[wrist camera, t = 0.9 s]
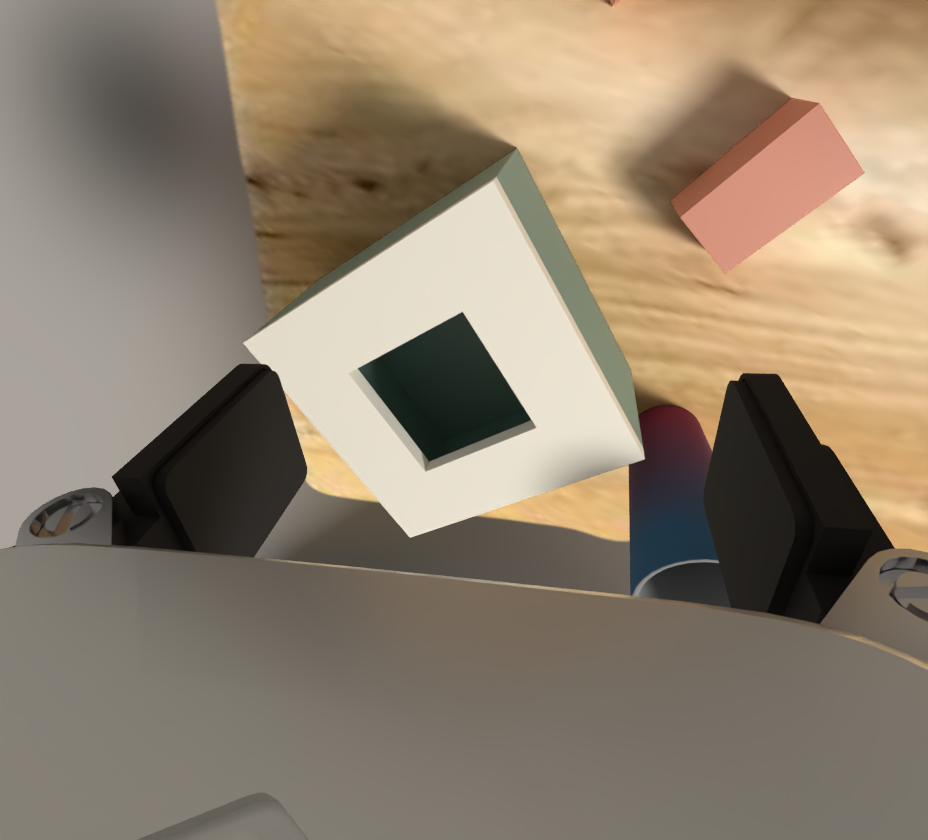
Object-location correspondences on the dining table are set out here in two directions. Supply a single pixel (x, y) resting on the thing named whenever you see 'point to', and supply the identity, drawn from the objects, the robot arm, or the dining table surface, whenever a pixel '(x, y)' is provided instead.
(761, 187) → the block
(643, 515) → the cup
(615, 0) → the salmon pink block
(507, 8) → the dining table surface
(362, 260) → the green and cream box
